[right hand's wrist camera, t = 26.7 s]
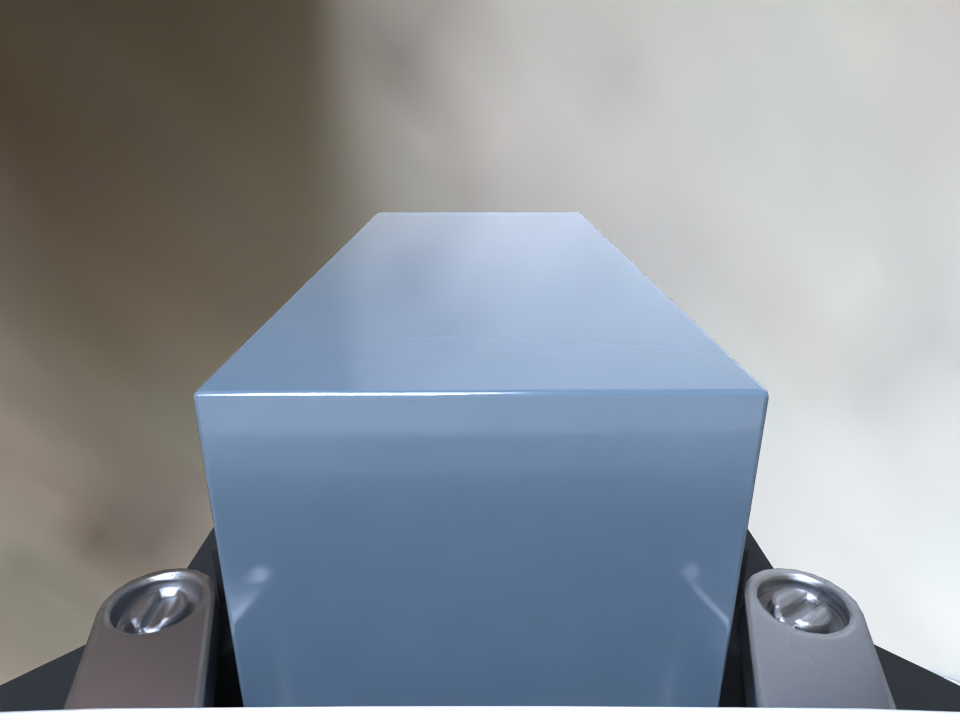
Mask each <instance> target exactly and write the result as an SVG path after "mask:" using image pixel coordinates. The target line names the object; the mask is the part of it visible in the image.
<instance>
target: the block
mask: <svg viewBox="0 0 960 720" xmlns="http://www.w3.org/2000/svg"><path fill="white" fill-rule="evenodd" d="M768 398H769V396H768V392H767V390H766V389H765V388H764V387H763V386H762V385H761V384H760V383H759V382H758V381H756V380H755V379H754V378H753V377H752V376H751V375H750V374H749V373H748V372H747V371H746V370H745V369H744V368H743V367H742V366H741V365H740V364H739V363H738V362H736V361H735V360H734V359H733V358H732V357H731V356H730V355H729V354H728V353H727V352H726V351H725V350H724V349H723V348H722V347H721V346H720V345H719V344H718V343H716V342H715V341H714V340H713V339H712V338H711V337H710V336H709V335H708V334H707V333H706V332H705V331H704V330H703V329H702V328H701V327H700V326H699V325H698V324H696V323H695V322H694V321H693V320H692V319H691V318H690V317H689V316H688V315H687V314H686V313H685V312H684V311H683V310H682V309H681V308H680V307H679V306H678V305H676V304H675V303H674V302H673V301H672V300H671V299H670V298H669V297H668V296H667V295H666V294H665V293H664V292H663V291H662V290H661V289H660V288H659V287H658V286H656V285H655V284H654V283H653V282H652V281H651V280H650V279H649V278H648V277H647V276H646V275H645V274H644V273H643V272H642V271H641V270H640V269H639V268H638V267H636V266H635V265H634V264H633V263H632V262H631V261H630V260H629V259H628V258H627V257H626V256H625V255H624V254H623V253H622V252H621V251H620V250H619V249H618V248H616V247H615V246H614V245H613V244H612V243H611V242H610V241H609V240H608V239H607V238H606V237H605V236H604V235H603V234H602V233H601V232H600V231H599V230H598V229H596V228H595V227H594V226H593V225H592V224H591V223H590V222H589V221H588V220H587V219H586V218H585V217H584V216H583V215H582V214H581V213H579V212H378V213H377V214H376V215H375V216H373V217H372V218H371V219H370V220H369V221H368V222H367V223H366V224H365V225H364V226H363V227H362V228H361V229H360V230H359V231H358V232H357V233H356V234H355V235H354V236H353V237H352V238H351V239H350V240H349V241H348V242H347V243H346V244H345V245H344V246H343V247H342V248H341V249H340V250H339V251H338V252H337V253H336V254H335V255H334V256H333V257H332V258H331V259H330V260H329V261H328V262H327V263H326V264H325V265H324V266H323V267H322V268H321V269H320V270H318V271H317V272H316V273H315V274H314V275H313V276H312V277H311V278H310V279H309V280H308V281H307V282H306V283H305V284H304V285H303V286H302V287H301V288H300V289H299V290H298V291H297V292H296V293H295V294H294V295H293V296H292V297H291V298H290V299H289V300H288V301H287V302H286V303H285V304H284V305H283V306H282V307H281V308H280V309H279V310H278V311H277V312H276V313H275V314H274V315H273V316H272V317H271V318H270V319H269V320H268V321H267V322H266V323H265V324H263V325H262V326H261V327H260V328H259V329H258V330H257V331H256V332H255V333H254V334H253V335H252V336H251V337H250V338H249V339H248V340H247V341H246V342H245V343H244V344H243V345H242V346H241V347H240V348H239V349H238V350H237V351H236V352H235V353H234V354H233V355H232V356H231V357H230V358H229V359H228V360H227V361H226V362H225V363H224V364H223V365H222V366H221V367H220V368H219V369H218V370H217V371H216V372H215V373H214V374H213V375H212V376H211V377H210V378H208V379H207V380H206V381H205V382H204V383H203V384H202V385H201V386H200V387H199V388H198V389H197V390H196V391H195V393H194V396H193V400H194V406H195V412H196V418H197V425H198V431H199V437H200V443H201V449H202V455H203V462H204V468H205V474H206V480H207V486H208V492H209V499H210V505H211V511H212V517H213V523H214V529H215V536H216V542H217V548H218V554H219V560H220V566H221V572H222V579H223V585H224V591H225V597H226V603H227V609H228V616H229V622H230V628H231V634H232V640H233V646H234V653H235V659H236V665H237V671H238V677H239V683H240V690H241V696H242V702H243V707H392V706H580V707H719V702H720V695H721V689H722V683H723V677H724V671H725V664H726V658H727V652H728V646H729V640H730V633H731V627H732V621H733V615H734V609H735V602H736V596H737V590H738V584H739V578H740V571H741V565H742V559H743V553H744V547H745V540H746V534H747V528H748V522H749V516H750V509H751V503H752V497H753V491H754V485H755V478H756V472H757V466H758V460H759V454H760V447H761V441H762V435H763V429H764V423H765V417H766V410H767V404H768Z"/></svg>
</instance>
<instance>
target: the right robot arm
mask: <svg viewBox="0 0 960 720" xmlns="http://www.w3.org/2000/svg"><path fill="white" fill-rule="evenodd" d="M0 720H960V683H959V682H956V681H954V680H952V679H949V678H944V677H941V676H939V675H937V674H935V673H933V672H930V671H928V670H926V669H924V668H922V667H920V666H918V665H916V664H914V663H912V662H910V661H907V660H905V659H903V658H901V657H899V656H897V655H895V654H893V653H891V652H889V651H887V650H884V649H882V648H880V647H878V646H876V645H874V644H873V641H872V638H871V635H870V632H869V629H868V626H867V624H866V621H865V618H864V615H863V613H862V611H861V609H860V608H859V606H858V604H857V603H856V601H855V600H854V599H853V598H852V597H850V596H849V595H848V594H847V593H846V592H845V591H844V590H843V589H841V588H839V587H838V586H836V585H835V584H833V583H831V582H830V581H828V580H825V579H823V578H821V577H818V576H816V575H814V574H810V573H806V572H802V571H798V570H794V569H781V568H776V569H773V567H772V566H771V564H770V562H769V561H768V559H767V558H766V556H765V555H764V553H763V552H762V550H761V549H760V547H759V545H758V544H757V542H756V541H755V539H754V538H753V536H752V535H751V533H750V532H749V530H748V529H747V534H746V540H745V547H744V553H743V559H742V565H741V571H740V578H739V584H738V590H737V596H736V602H735V609H734V615H733V621H732V627H731V633H730V640H729V646H728V652H727V658H726V664H725V671H724V677H723V683H722V689H721V695H720V702H719V707H580V706H392V707H243V702H242V696H241V690H240V683H239V677H238V671H237V665H236V659H235V653H234V646H233V640H232V634H231V628H230V622H229V616H228V609H227V603H226V597H225V591H224V585H223V579H222V572H221V566H220V560H219V554H218V548H217V542H216V536H215V529H214V527H213V529H212V531H211V532H210V534H209V535H208V537H207V538H206V540H205V541H204V543H203V544H202V546H201V548H200V549H199V551H198V552H197V554H196V555H195V557H194V558H193V560H192V561H191V563H190V564H189V566H188V568H187V569H184V568H179V569H166V570H162V571H158V572H154V573H150V574H146V575H144V576H142V577H139V578H137V579H135V580H132V581H130V582H129V583H127V584H125V585H124V586H122V587H121V588H119V589H117V590H116V591H115V592H114V593H113V594H112V595H111V596H110V597H108V598H107V599H106V600H105V601H104V603H103V604H102V606H101V608H100V609H99V611H98V613H97V615H96V618H95V621H94V624H93V626H92V629H91V632H90V635H89V638H88V641H87V644H86V645H84V646H82V647H80V648H78V649H76V650H74V651H72V652H70V653H67V654H65V655H63V656H61V657H59V658H57V659H55V660H53V661H51V662H49V663H47V664H44V665H42V666H40V667H38V668H36V669H34V670H32V671H30V672H28V673H26V674H24V675H21V676H19V677H17V678H15V679H13V680H11V681H9V682H7V683H5V684H3V685H1V686H0Z"/></svg>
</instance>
